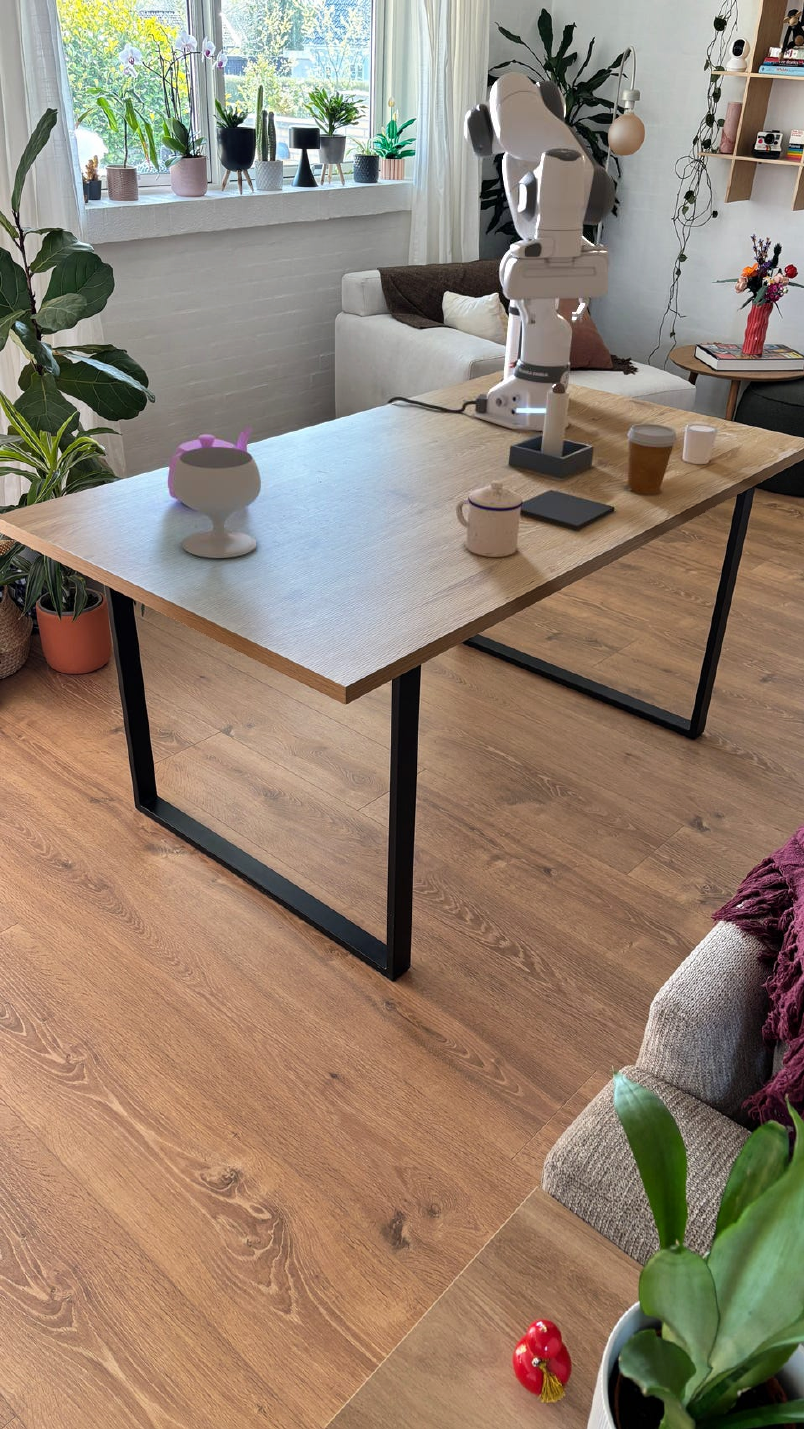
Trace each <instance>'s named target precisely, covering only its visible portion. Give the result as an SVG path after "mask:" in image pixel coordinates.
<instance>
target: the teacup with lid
mask: <svg viewBox="0 0 804 1429" xmlns="http://www.w3.org/2000/svg"><path fill="white" fill-rule="evenodd" d="M523 502H524V501H523V498H522V496H521V495H520V494H519V493H517V492H515V491H513V490H510V489H509V488H507V487H506V486H504V483H503V481H501V480H492V481H491V482H490V485H487V486H485V487H483V488H477V489H474V490H472V491H471V492H470V493H469V494H468V498H464V499H462V500H459V501H458V502H457V504H456V508H455V509H456V510H455V515H456V519H457V520H458V522H459V524H460V525H461V526H462V527H463V528H465V529H466V538H465V546H466V548H467V550H468V551H470V553H473V554H475V555H479V556H481V557H482V556H483V557H488V558H501V557H507V556H510V555H512V554H514V553H515V552H516V551H517V549H518V540H519V528H520V519H521V515H520V510H521V506H522V504H523ZM464 505H468V511H467V512H468V514H467V520H466V519H465V517H464V514H463V506H464Z"/></svg>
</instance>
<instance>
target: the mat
mask: <svg viewBox="0 0 804 1429" xmlns="http://www.w3.org/2000/svg"><path fill="white" fill-rule="evenodd" d="M615 507H616V506H613V505H611V504H610V505H609V504H605V503H602V502H598V501H595V500H591V499H588V498H583V497H579V496H576V495H573V494H569V493H566V492H565V493H564V492H561V491H557V490H554V489H549V490H547V491H544V492H542V493H540V494H538V495H535V496H534V497H531V498H528V499H527V500H524V501H523V504H522V506H521V510H520V516H524V517H527V518H530V519H535V520H537V521H541V522H545V523H548V524H552V525H555V526H559V527H563V528H565V529H569V530H573V531H576V532H578V531H580V530H582V529H584V528H586V527H587V526H590V525H592V524H593V523H595V522H597V521H599V520H601V519H603V518H605V517H608V516H609V515H611V514H613V513H614V512H615V510H616V509H615Z"/></svg>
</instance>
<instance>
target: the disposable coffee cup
mask: <svg viewBox="0 0 804 1429" xmlns="http://www.w3.org/2000/svg"><path fill="white" fill-rule="evenodd" d="M626 435H627V440H628V458H627V460H628V463H627V487H628V489H630V491H629V492H632V493H635V494H638V495H647V496H652V495H657V494H659V493H660V491H661V487H662V484H663V481H664V478H665V473H666V471H667V469H668V468H667V467H668V464H669V461H670V458H671V454H672V451H673V447H674V445H675V444H676V442H678V441H677V440H678V437H677V432H676V430H675V429H673V428H672V427H669V426H665V425H661V424H655V423H637V424H633V425H632V426H631V427H630V428H629V431H628V432H627V434H626Z"/></svg>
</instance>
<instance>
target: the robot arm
mask: <svg viewBox="0 0 804 1429" xmlns="http://www.w3.org/2000/svg"><path fill="white" fill-rule="evenodd" d="M565 117H566V101H565V98H564V95H563V93H562V91H561V90H560V88H559V87H558V84H557V83H555V81H553V80H540V81H537V82H536V83H535V84H534V83H533V81H531V79H530V78H529V77H528V76H527V75H526V74H524V73H522V72H517V71H511V72H507V73H505V74H503V75H501V76H500V77H499V78H497V80H496V81H495V82H494V84H493V85H492V88H491V90H490V94H489V99H488V100H487V101H485V102H483V103H477V104H476V105H474V106H473V107H471V108H470V109H469V110H468V111H467V113H466V114H465V117H464V126H463V133H464V139H465V141H466V143H467V146H468V147H469V149H470V150H471V151H472V152H473V154H474V156H476V157H477V158H479V159H484V158H485V159H486V158H492V157H494V155H499V154H503V153H504V155H503V159H502V162H501V163H502V164H501V165H502V167H501V168H502V178H503V185H504V186H503V187H504V190H505V196H506V199H507V203H508V206H509V210H510V214H511V217H512V221H513V225H514V229H515V231H516V233H517V234H518V236H520V238H521V239H522V240H519V241H516V242H514V243H512V244H510V246H509V250H508V251H506V252H505V254H504V255H503V257H502V259H501V262H500V263H499V264H500V265H499V272H498V275H499V281H500V285H501V286H502V293H503V295H504V297H505V298H506V299H508V300H514V301H515V303H516V305H517V307H518V309H519V312H520V315H521V320H522V349H521V358H520V359H518V360H516V361H515V362H512V363H510V364H512V365H511V366H510V368H512V367H514V371H513V373H512V375H511V376H509V377H508V378H506V379H505V380H503V381H502V382H501V381H499V383H497V384H495V385H494V386H493V387H492V388H490V390H489V391H488V392H487V394H484V393H480V394H479V395H478V396H477V397H476V398H475V400H467V401H465V402H463V403H462V406H461V408H459V409H450V408H447V407H443V406H440V405H434V404H430V403H426V402H423V401H419V400H414V399H410V398H406V397H403V396H394V397H392V398H389V399H388V400H387V402H386V403H387V404H392V403H393V402H396V401H400V402H404V403H408V404H411V405H417V406H421V407H423V408H428V409H432V410H437V411H441V412H445V413H456V414H461V413H464V412H465V410H466V408H467V406H470V405H475V408H474V417H475V418H476V419H481V420H482V421H486V422H490V423H492V424H496V425H499V426H501V427H505V428H508V429H511V430H528V431H539V432H540V431H541V432H543V429H544V419H545V410H546V401H547V392H548V390H551V389H552V387H553V385H554V384H555V383H559V382H560V383H563V384H564V385H565V387H566V391H568V390H567V389H568V387H569V380H570V374H571V373H570V372H571V371H570V370H571V362H570V355H571V348H572V338H573V329H572V326H571V325H570V323H569V321H567V319H565V318H564V317H563V316H561V315H560V314H559V313H558V314H557V312H556V308H555V299H558V298H559V299H578V303H579V304H580V305H579V306H578V308H577V310H576V311H573V312H572V316H571V317H572V318H571V321H572V323H575V324H578V323H583V314H584V313H585V311H586V310H587V308H588V306H589V305H590V298H604V297H605V296H606V295H607V294H608V292H609V266H610V260H611V255H610V250H609V249H608V248H607V247H604V245H602V244H596V245H594V244H593V243H591V241H589V240H587V238H586V237H584V236H583V235H584V234H583V232H584V225H590V226H597V225H599V224H600V223H601V222H603V221H604V220H605V219H606V218H607V217H608V216H609V214H611V212H612V211H613V209H614V206H615V202H616V187H615V182H614V179H613V178H612V176H611V174H610V173H609V172H608V171H607V169H606V168H604V167H603V166H602V165H600V164H599V163H598V162H597V161H596V159H595V158H594V156H593V154H592V153H591V152H590V150H589V149H588V147H587V146H586V144H585V143H584V141H583V140H582V139H581V137H580V135H579V134H578V133H577V131H575V129H574V128H573V127H571V126H570V125H569V124H567V123H566V122H565ZM568 427H569V418H568V417H567V418H566V427H565V429H566V428H568Z"/></svg>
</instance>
